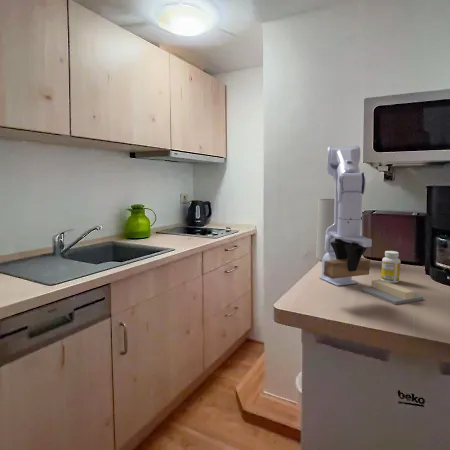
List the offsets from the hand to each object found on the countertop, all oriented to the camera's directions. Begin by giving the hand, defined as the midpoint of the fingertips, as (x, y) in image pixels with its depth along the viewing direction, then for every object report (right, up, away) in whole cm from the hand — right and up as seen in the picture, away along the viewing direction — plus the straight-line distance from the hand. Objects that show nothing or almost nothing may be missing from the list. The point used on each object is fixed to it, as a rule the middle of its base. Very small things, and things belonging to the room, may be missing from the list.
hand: (347, 268), depth 90 cm
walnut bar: (0, -2, 0) cm, 2 cm away
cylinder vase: (+12, -3, +50) cm, 51 cm away
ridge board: (+14, -8, +5) cm, 17 cm away
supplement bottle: (+21, -7, +19) cm, 29 cm away
